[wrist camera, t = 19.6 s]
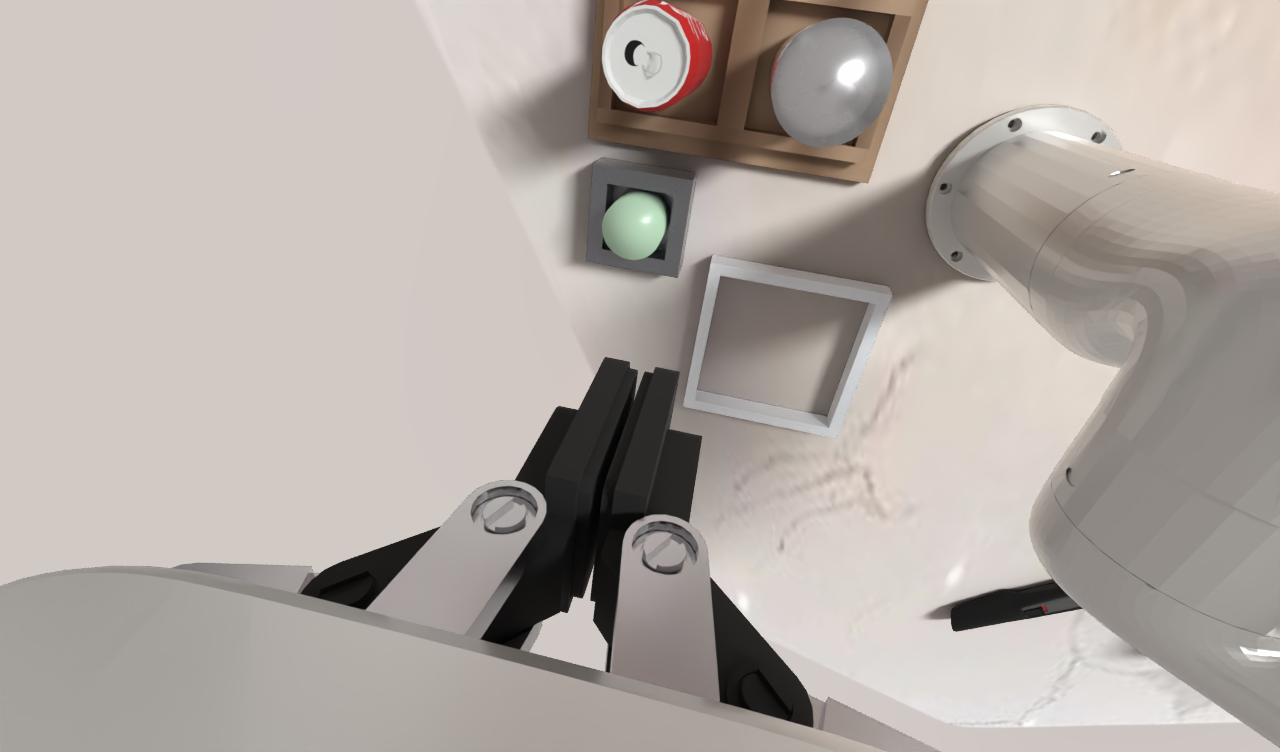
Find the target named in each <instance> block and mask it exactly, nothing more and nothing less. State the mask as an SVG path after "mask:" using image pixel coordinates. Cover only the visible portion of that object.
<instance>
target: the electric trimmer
mask: <svg viewBox="0 0 1280 752" xmlns="http://www.w3.org/2000/svg"><path fill="white" fill-rule="evenodd" d="M1078 609H1083V608H1082V607H1080V606H1079V605H1078V604H1077V603H1076V602H1075V601H1074V600H1073V599H1072V598H1071V597H1070V596H1069V595H1067V594H1066V593H1065V592H1064V591H1063V590H1062V589H1061V587H1060V586H1059V585H1058V584H1057V583H1052V584H1048V585H1044V586H1039V587H1035V588H1031V589H1027V590H1023V591H1019V592H1015V591H1010V590H1003V591H1000V592H997V593H994V594H991V595H988V596H985V597H982V598H979V599H977V600H974V601H971V602H968V603H965V604H963V605H960V606H957V607H955V608H953V609H952V611H951V625H952V629H953V631H956V632H957V631H963V630H968V629H973V628H979V627H984V626H989V625H995V624H1000V623H1005V622H1011V621H1017V620H1023V619H1030V618H1035V617H1040V616H1046V615H1051V614H1057V613H1062V612H1067V611H1073V610H1078Z"/></svg>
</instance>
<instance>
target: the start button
mask: <svg viewBox="0 0 1280 752" xmlns="http://www.w3.org/2000/svg"><path fill="white" fill-rule="evenodd" d="M668 224H669V210H668V207H667V205H666V203H665V201H664V200H663V198H662V197H661V196H660V195H659V194H658V193H656V192H654V191H648V190H642V189H636V188H633V189H630V190H628V191H626V192H624V193H623V194H622V195H621V196H620V197H619V198H618V199H617V200H616V201H615V202H614V203H613V205H612V206H611V207H610V208H609V209H608V210H607V212H606V213H605V215H604V218H603V222H602V233H603V237H604V240H605V242H606V244H607V245H608V247H609V248H610V249H611V250H612V251H613V252H614V253H615V254H617V255H618V256H620V257H622V258H625V259H629V260H639V259H643V258H645V257H647V256H649V255H651V254H652V253H653V252H654V251H655V250H656V248H657V247H658V245H659V243H660V241H661V240H662V238H663V236H664V234H665V232H666V230H667V228H668Z"/></svg>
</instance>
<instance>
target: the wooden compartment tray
mask: <svg viewBox="0 0 1280 752" xmlns="http://www.w3.org/2000/svg"><path fill="white" fill-rule="evenodd" d="M638 1H644V0H596V16H595V32H594V48H593V64H592V80H591V96H590V111H589V127H588V138H590V139H596V140H602V141H609V142H615V143H621V144H627V145H633V146H640V147H646V148H652V149H658V150H664V151H670V152H677V153H683V154H689V155H695V156H701V157H708V158H714V159H720V160H726V161H732V162H739V163H745V164H751V165H757V166H763V167H770V168H776V169H782V170H788V171H794V172H801V173H807V174H813V175H819V176H825V177H832V178H838V179H844V180H850V181H856V182H863V183H869V180H870V176H871V173H872V170H873V167H874V164H875V161H876V158H877V155H878V152H879V149H880V146H881V143H882V140H883V137H884V134H885V131H886V128H887V125H888V122H889V119H890V116H891V113H892V110H893V107H894V103H895V100H896V97H897V94H898V91H899V88H900V85H901V82H902V79H903V76H904V73H905V70H906V67H907V64H908V61H909V58H910V55H911V52H912V49H913V46H914V43H915V40H916V37H917V34H918V31H919V27H920V24H921V21H922V18H923V15H924V12H925V9H926V6H927V3H928V0H656V1H664V2H666V3H668V4H671V5H673V6H675V7H677V8H680V9H682V10H684V11H686V12H687V13H689V14H690V15H692V16H693V17H694V18H696V19H697V20H699V21H700V22H702V23H703V25H704V27H705V30H706V32H707V34H708V37H709V39H710V41H711V44H712V60H711V66H710V69H709V72H708V74H707V77H706V78H705V80H704V81H703V82H702V84H701V85H700V86H699V87H698V88H697V89H696V90H695V91H693V92H692V93H691V94H689V95H688V96H686V97H685V98H683V99H682V100H680V101H679V102H677V103H676V104H675V105H672V106H670V107H668V108H666V109H663V110H658V111H645V112H644V111H641V110H639V109H636V108H634V107H632V106H629V105H627V104H625V103H624V102H623V101H621V99H620V98H619V97H618V96H617V94H616V93H615V92H614V90H613V89H612V88H611V87H610V85H609V84H608V82H607V79H606V77H605V74H604V70H603V64H602V49H603V43H604V40H605V37H606V33H607V31H608V29H609V27H610V26H611V24H612V22H613V21H614V19H615V17H616V16H617V15H618V14H619V13H620V12H621V11H622V10H623V9H625V8H626V7H628V6H630V5H632V4H634V3H636V2H638ZM832 18H851V19H856V20H859V21H861V22H864V23H866V24H867V25H869V26H871V27H872V28H873V29H874V30H876V31H877V32H878V34H879V35H880V36H881V37H882V38H883V40H884V42H885V43H886V45H887V47H888V50H889V52H890V56H891V60H892V67H893V78H892V85H891V89H890V93H889V96H888V99H887V101H886V104H885V106H884V108H883V110H882V111H881V113H880V114H879V116H878V117H877V119H876V120H875V121H874V122H873V123H872V125H871V126H870V127H868V128H867V129H866V130H865V131H864V132H863V133H861V134H860V135H859V136H857V137H856V138H854V139H852V140H850V141H848V142H846V143H844V144H841V145H837V146H832V147H813V146H808V145H805V144H803V143H800V142H799V141H797V140H795V139H794V138H792V137H791V136H790V135H789V134H788V133H787V132H786V131H785V130H784V129H783V127H782V126H781V125H780V123H779V121H778V119H777V117H776V114H775V112H774V108H773V103H772V98H771V92H770V84H769V76H770V69H771V65H772V62H773V60H774V57H775V55H776V53H777V51H778V50H779V48H780V47H781V45H782V44H783V43H784V42H785V41H786V40H787V39H788V38H789V37H790V36H791V35H793V34H794V33H795V32H797V31H799V30H801V29H803V28H806V27H808V26H811V25H813V24H816V23H819V22H821V21H824V20H828V19H832Z"/></svg>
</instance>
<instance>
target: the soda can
mask: <svg viewBox="0 0 1280 752" xmlns="http://www.w3.org/2000/svg"><path fill="white" fill-rule="evenodd" d="M711 60H712V44H711V41H710V39H709V37H708V34H707V32H706V30H705V27H704V25H703V23H702V22H700V21H699V20H697V19H696V18H694V17H693V16H692V15H690V14H689V13H687V12H686V11H684V10H682V9H680V8H677V7H675V6H673V5H671V4H668V3H666V2H664V1H656V0H644V1H638V2H636V3H634V4H632V5H630V6H628V7H626V8H625V9H623V10H622V11H621V12H620V13H619V14H618V15H617V16H616V17H615V19H614V21H613V22H612V24H611V26H610V27H609V29H608V31H607V33H606V37H605V40H604V43H603V49H602V64H603V70H604V74H605V77H606V79H607V82H608V84H609V85H610V87H611V88H612V89H613V90H614V92H615V93H616V94H617V96H618V97H619V98H620V99H621V101H623V102H624V103H625V104H627V105H629V106H632V107H634V108H636V109H639V110H641V111H644V112H645V111H658V110H663V109H666V108H668V107H670V106H672V105H675V104H676V103H677V102H679V101H680V100H682V99H683V98H685V97H686V96H688V95H689V94H691V93H692V92H693V91H695V90H696V89H697V88H698V87H699V86H700V85H701V84H702V82H703V81H704V80H705V78H706V77H707V74H708V72H709V69H710V66H711Z"/></svg>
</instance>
